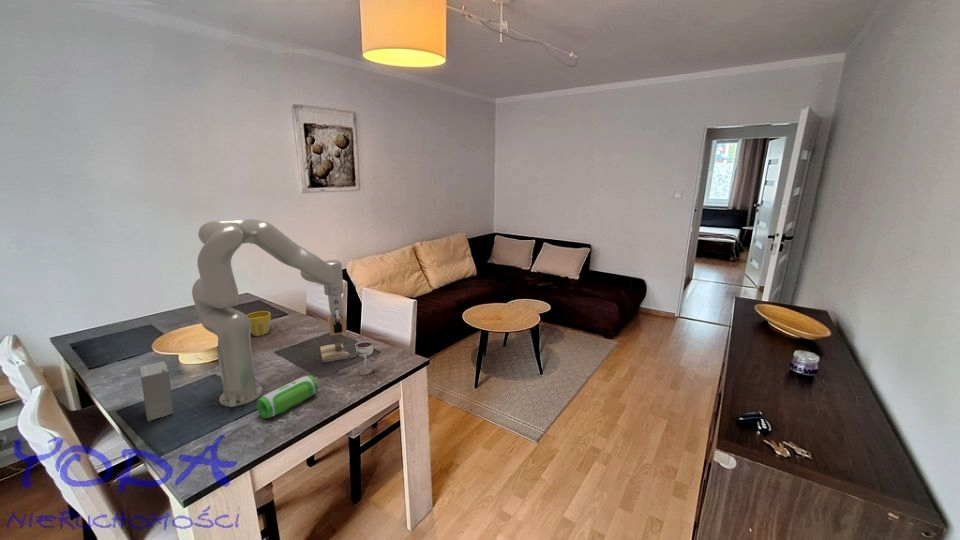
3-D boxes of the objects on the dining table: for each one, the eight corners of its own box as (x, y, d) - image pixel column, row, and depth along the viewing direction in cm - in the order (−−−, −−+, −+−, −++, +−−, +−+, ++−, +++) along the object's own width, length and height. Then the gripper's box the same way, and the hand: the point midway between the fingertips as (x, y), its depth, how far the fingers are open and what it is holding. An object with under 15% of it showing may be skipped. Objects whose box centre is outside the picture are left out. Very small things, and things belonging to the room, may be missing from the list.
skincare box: (145, 411, 120) (135, 366, 116) (173, 402, 125) (165, 359, 121) (147, 423, 114) (137, 377, 110) (177, 413, 119) (168, 369, 115)
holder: (357, 357, 159) (357, 344, 157) (322, 363, 153) (321, 350, 151) (353, 344, 171) (352, 331, 170) (320, 349, 165) (319, 337, 163)
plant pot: (251, 330, 183) (248, 311, 181) (274, 328, 186) (272, 310, 184) (245, 338, 174) (242, 319, 171) (270, 336, 177) (267, 317, 174)
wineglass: (369, 377, 143) (368, 348, 140) (353, 374, 144) (351, 346, 142) (377, 368, 150) (376, 341, 147) (362, 366, 151) (360, 339, 148)
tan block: (346, 333, 158) (345, 317, 157) (330, 335, 156) (329, 320, 154) (344, 327, 164) (343, 312, 162) (329, 330, 161) (327, 314, 159)
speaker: (306, 390, 134) (304, 371, 132) (319, 396, 130) (317, 377, 128) (257, 415, 119) (254, 394, 117) (270, 423, 116) (267, 402, 114)
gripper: (346, 294, 149) (349, 335, 154) (341, 283, 164) (344, 321, 169) (326, 296, 146) (329, 338, 150) (322, 285, 161) (326, 323, 165)
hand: (337, 329), depth 159 cm, fingers closed on tan block, 6 cm apart
